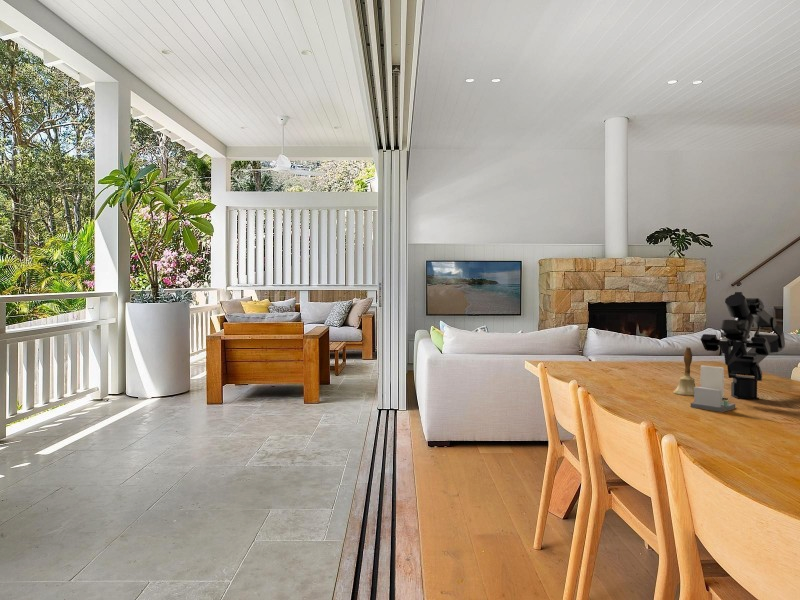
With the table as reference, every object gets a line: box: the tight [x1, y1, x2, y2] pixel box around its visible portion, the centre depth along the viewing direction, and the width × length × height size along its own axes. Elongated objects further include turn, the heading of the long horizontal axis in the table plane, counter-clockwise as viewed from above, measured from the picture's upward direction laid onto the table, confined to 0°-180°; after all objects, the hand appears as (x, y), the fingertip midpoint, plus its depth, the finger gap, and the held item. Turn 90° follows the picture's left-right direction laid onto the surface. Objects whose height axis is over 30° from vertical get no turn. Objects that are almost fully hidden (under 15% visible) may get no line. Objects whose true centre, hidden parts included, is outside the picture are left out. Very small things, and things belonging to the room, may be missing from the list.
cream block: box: [699, 364, 729, 405], centre depth 168 cm, size 2×9×11 cm, turn 40°
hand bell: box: [673, 346, 697, 397], centre depth 192 cm, size 8×8×16 cm
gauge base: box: [690, 386, 736, 413], centre depth 168 cm, size 10×9×6 cm
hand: (726, 364), depth 175 cm, fingers closed
